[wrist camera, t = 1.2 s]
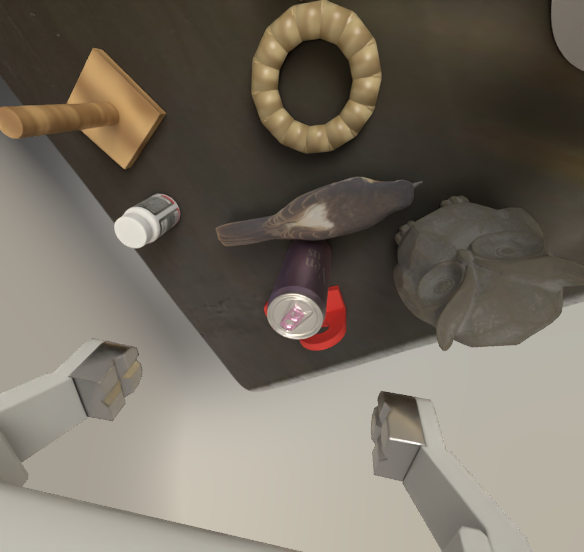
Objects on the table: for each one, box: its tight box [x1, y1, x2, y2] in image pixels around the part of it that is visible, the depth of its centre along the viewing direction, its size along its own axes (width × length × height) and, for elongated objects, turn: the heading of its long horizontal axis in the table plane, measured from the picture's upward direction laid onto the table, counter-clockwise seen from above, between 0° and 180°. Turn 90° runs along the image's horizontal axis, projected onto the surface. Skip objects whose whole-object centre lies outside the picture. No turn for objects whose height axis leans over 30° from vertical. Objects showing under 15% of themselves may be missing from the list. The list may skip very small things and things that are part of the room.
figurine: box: [393, 196, 584, 351], centre depth 32 cm, size 14×16×20 cm
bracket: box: [264, 285, 346, 350], centre depth 45 cm, size 12×4×8 cm, turn 110°
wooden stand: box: [0, 48, 166, 169], centre depth 32 cm, size 9×9×14 cm
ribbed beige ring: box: [251, 0, 382, 154], centre depth 33 cm, size 13×14×3 cm
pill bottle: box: [114, 194, 180, 248], centre depth 41 cm, size 5×5×8 cm
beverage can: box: [267, 239, 332, 339], centre depth 37 cm, size 6×6×15 cm
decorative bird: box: [216, 177, 422, 246], centre depth 38 cm, size 6×25×5 cm, turn 106°
